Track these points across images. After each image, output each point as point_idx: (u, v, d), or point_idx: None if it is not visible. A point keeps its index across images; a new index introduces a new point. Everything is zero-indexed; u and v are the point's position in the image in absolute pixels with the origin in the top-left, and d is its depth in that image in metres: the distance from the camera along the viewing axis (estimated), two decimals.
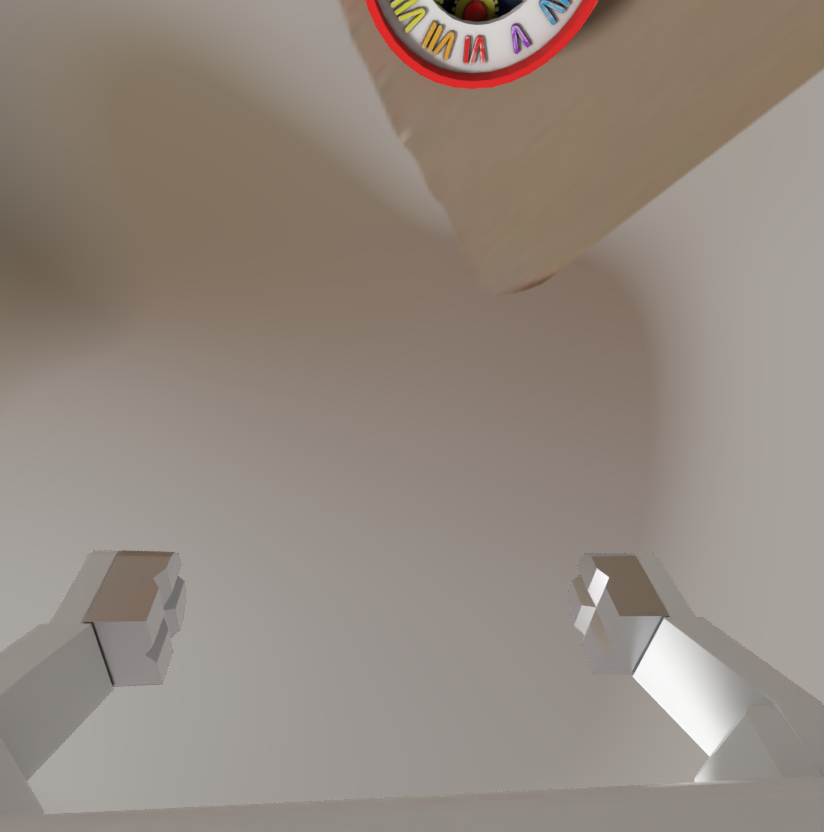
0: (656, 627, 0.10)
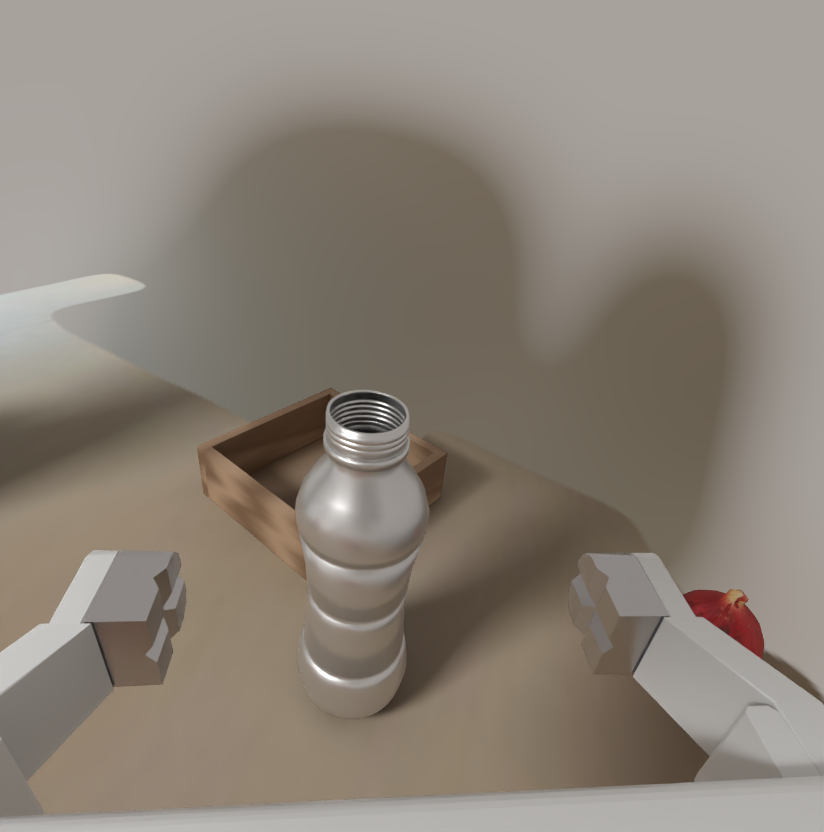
0: (656, 627, 0.10)
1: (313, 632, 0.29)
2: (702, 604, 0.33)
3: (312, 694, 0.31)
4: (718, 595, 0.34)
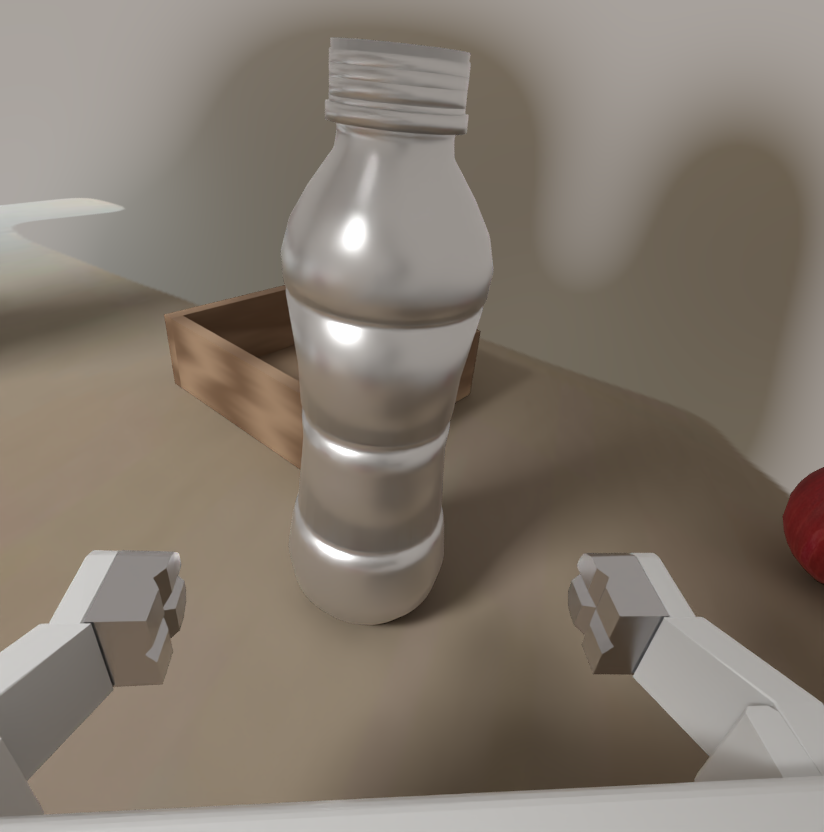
0: (656, 627, 0.10)
1: (311, 483, 0.19)
2: None
3: (310, 585, 0.21)
4: None
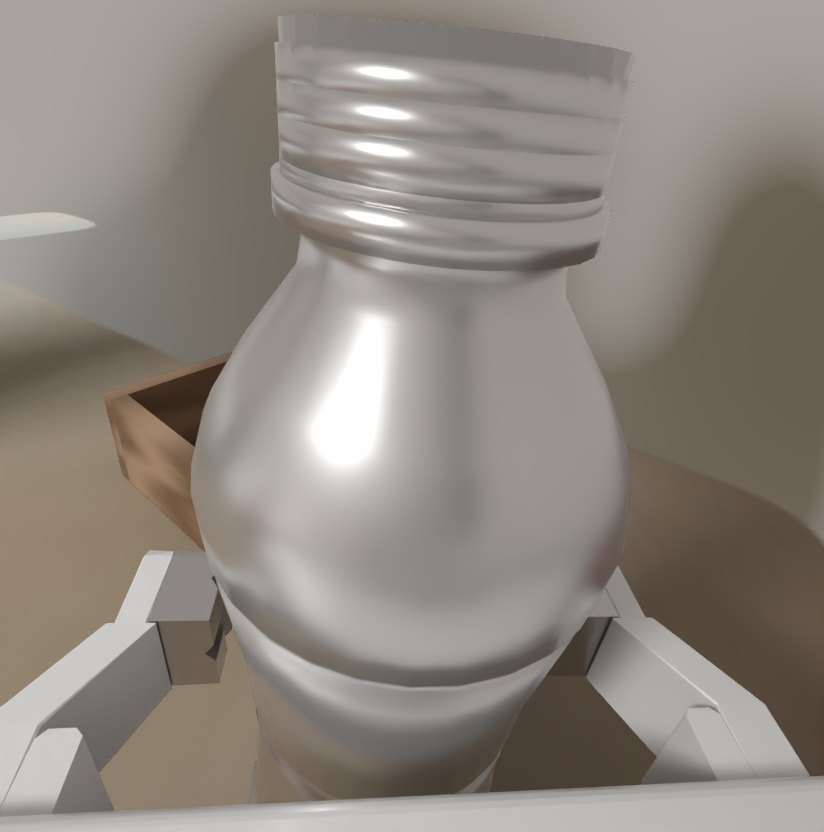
0: (605, 628, 0.10)
1: (271, 801, 0.11)
2: None
3: None
4: None
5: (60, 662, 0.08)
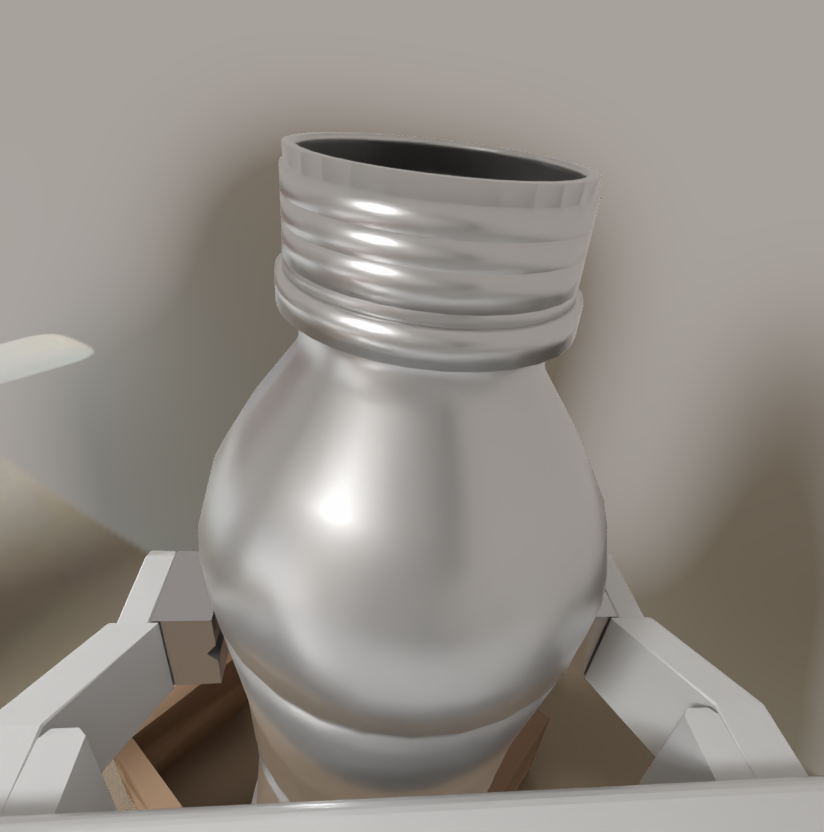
0: (604, 628, 0.10)
1: None
2: None
3: None
4: None
5: (62, 662, 0.08)
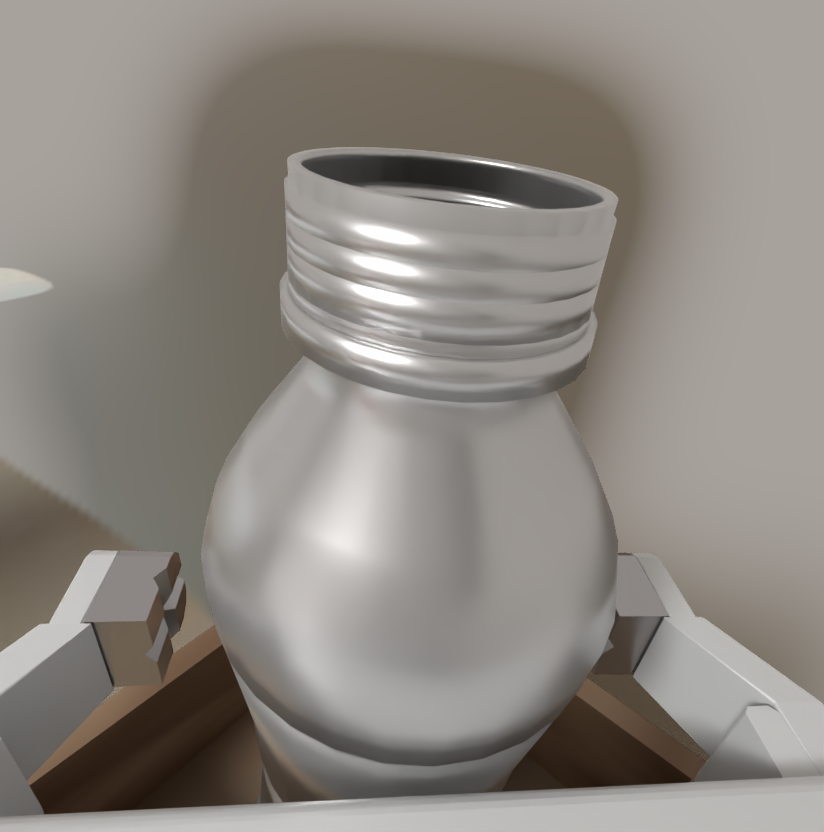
0: (656, 627, 0.10)
1: None
2: None
3: None
4: None
5: None
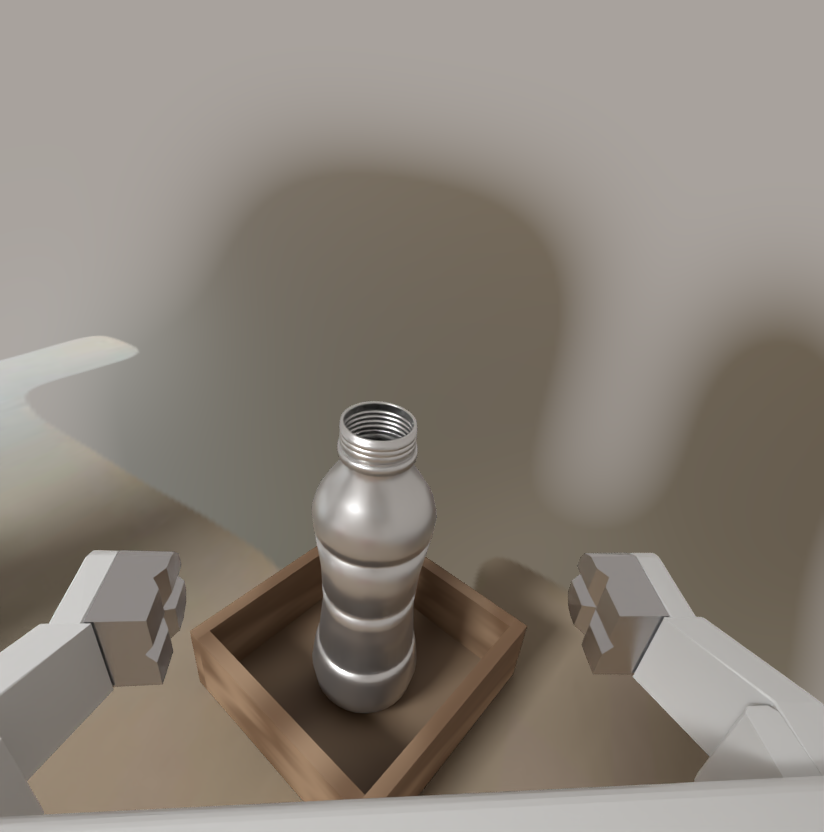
0: (656, 627, 0.10)
1: (331, 632, 0.31)
2: None
3: (331, 693, 0.32)
4: None
5: None
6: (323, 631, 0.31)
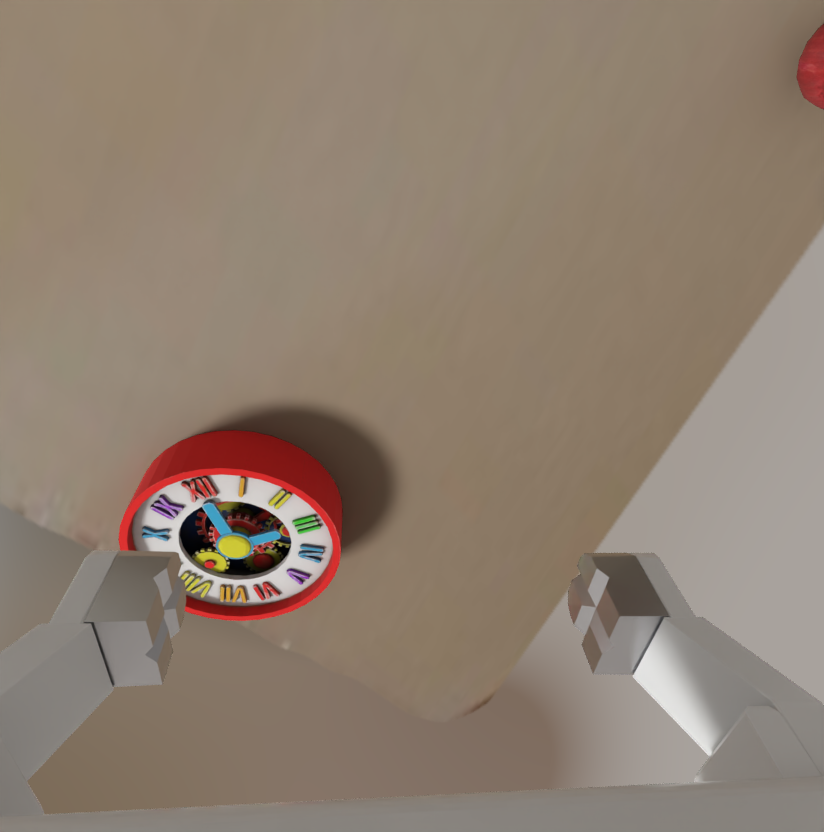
0: (656, 627, 0.10)
1: None
2: None
3: None
4: None
5: None
6: None
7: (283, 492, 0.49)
